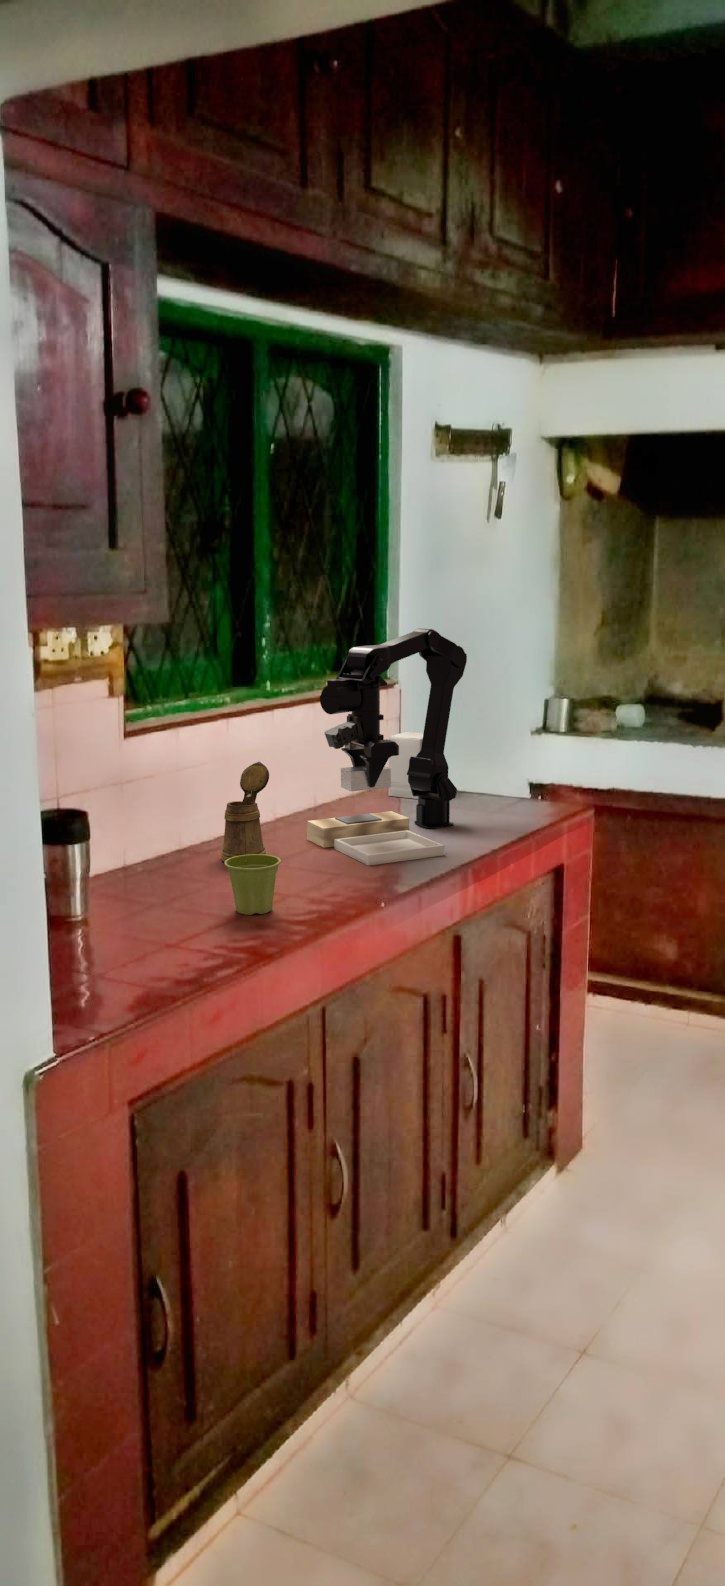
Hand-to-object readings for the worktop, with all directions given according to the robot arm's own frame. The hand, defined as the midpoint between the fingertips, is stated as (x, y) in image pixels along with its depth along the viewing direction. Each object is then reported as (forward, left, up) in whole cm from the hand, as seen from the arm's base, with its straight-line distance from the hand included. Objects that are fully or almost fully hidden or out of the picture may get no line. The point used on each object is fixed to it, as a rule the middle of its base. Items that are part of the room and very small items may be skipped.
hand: (366, 784), depth 256 cm
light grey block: (0, 0, 0) cm, 0 cm away
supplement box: (-32, -38, -12) cm, 51 cm away
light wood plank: (0, -4, -12) cm, 13 cm away
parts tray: (0, +10, -12) cm, 15 cm away
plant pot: (+39, +34, -12) cm, 53 cm away
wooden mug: (+26, -1, -12) cm, 29 cm away
